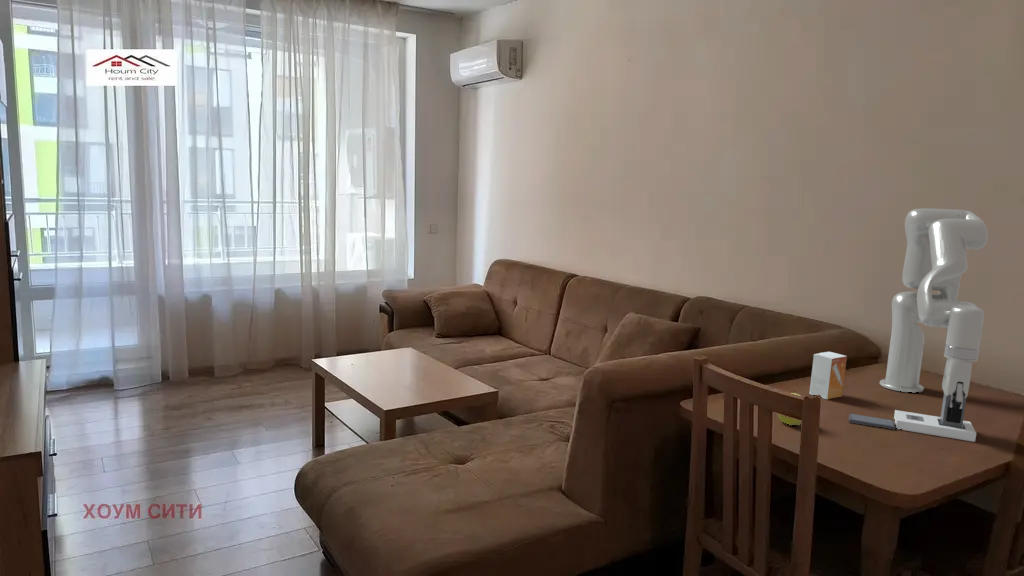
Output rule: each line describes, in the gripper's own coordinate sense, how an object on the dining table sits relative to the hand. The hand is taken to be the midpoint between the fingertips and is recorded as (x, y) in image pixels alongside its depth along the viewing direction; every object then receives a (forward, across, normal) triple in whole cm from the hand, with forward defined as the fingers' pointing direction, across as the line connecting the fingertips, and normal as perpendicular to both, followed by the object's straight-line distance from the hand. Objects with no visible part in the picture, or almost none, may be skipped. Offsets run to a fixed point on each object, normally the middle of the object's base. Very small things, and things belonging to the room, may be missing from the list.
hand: (951, 418), depth 186 cm
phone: (+4, +4, -19) cm, 20 cm away
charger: (+3, 0, 0) cm, 3 cm away
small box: (+4, -18, -31) cm, 36 cm away
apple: (+4, +16, -39) cm, 42 cm away
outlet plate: (+4, 0, -4) cm, 6 cm away
